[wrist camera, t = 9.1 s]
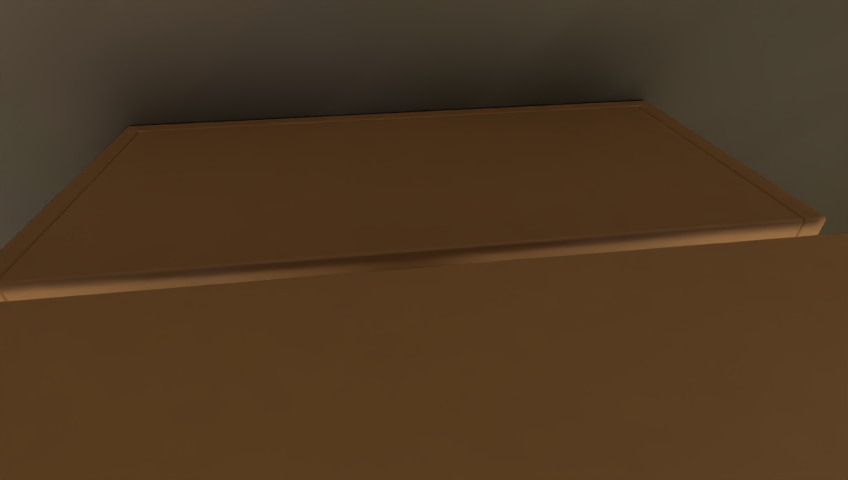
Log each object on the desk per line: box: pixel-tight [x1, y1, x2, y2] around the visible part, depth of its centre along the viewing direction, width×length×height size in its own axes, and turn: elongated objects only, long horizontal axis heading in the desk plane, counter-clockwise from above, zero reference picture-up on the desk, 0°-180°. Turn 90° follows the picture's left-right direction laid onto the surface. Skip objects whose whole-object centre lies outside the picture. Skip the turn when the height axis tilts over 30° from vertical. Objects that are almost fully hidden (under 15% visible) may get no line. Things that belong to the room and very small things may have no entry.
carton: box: [0, 101, 826, 302], centre depth 13 cm, size 13×13×7 cm
